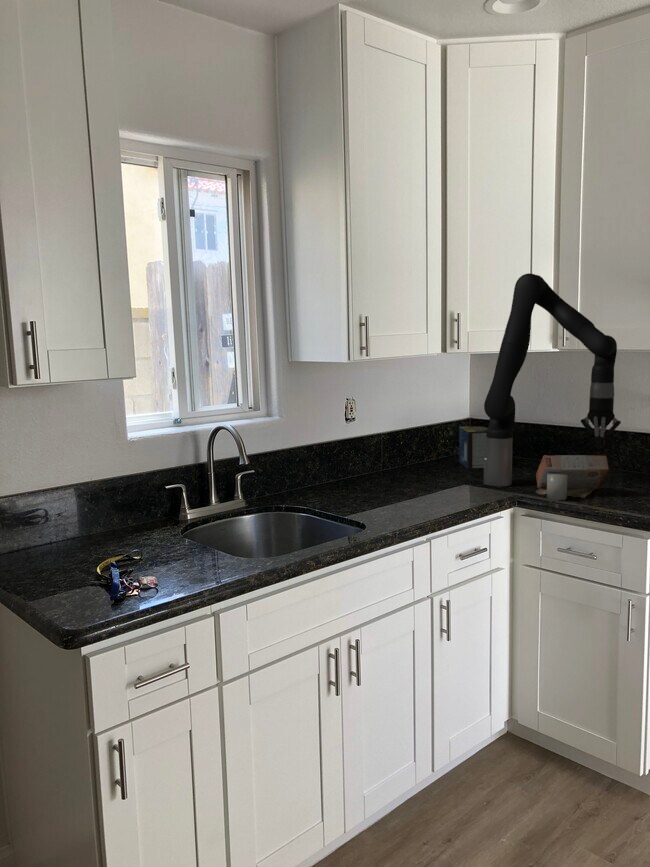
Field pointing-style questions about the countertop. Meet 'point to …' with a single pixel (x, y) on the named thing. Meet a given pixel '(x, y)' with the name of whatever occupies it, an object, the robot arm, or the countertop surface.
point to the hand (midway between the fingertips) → (599, 447)
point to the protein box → (472, 446)
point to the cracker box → (574, 470)
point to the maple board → (571, 491)
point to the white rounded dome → (557, 486)
